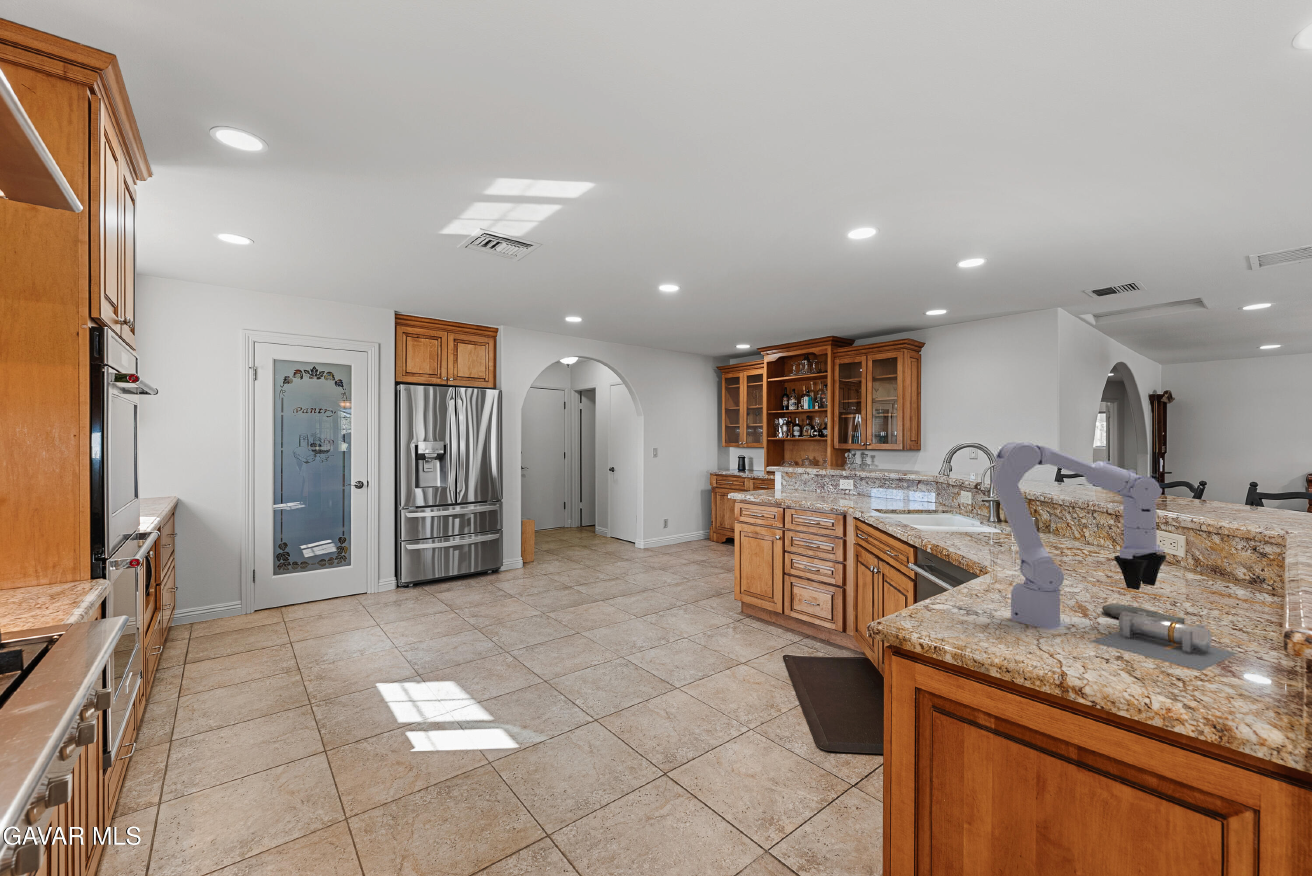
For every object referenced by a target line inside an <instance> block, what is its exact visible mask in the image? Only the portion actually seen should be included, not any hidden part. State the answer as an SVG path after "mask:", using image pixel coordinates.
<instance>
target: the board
mask: <svg viewBox="0 0 1312 876" xmlns="http://www.w3.org/2000/svg"><path fill="white" fill-rule="evenodd" d="M1089 642H1091V643H1093V644H1098V645H1101V646H1105V647H1108V648H1109V647H1110V648H1114V649H1115V650H1116V649H1117V650H1120V651H1125V652H1128V653H1132V654H1136V655H1139V656H1143V657H1147V658H1151V659H1154V660H1159V661H1162V662H1166V663H1169V664H1173V665H1177V666H1181V667H1183V668H1184V667H1185V668H1189V669H1193V670H1196V671H1200V672H1202V671H1204V670H1207V669H1208V668H1211V667H1212V666H1214V665H1216V664H1219V663H1221V662H1224V661H1225V660H1227V659H1229V658H1231V657H1233V656H1235V655H1237V654H1238V652H1235V651H1232V650H1231V651H1230V650H1226V649H1222V648H1218V647H1212V646H1211V647H1210V649H1209V651H1203V650H1199V651H1197V652H1194V653H1192V654H1188V653H1184V652H1183V646H1182V645H1178V644H1174V643H1170V642H1165V641H1161V640H1157V639H1153V638H1149V637H1145V636H1137V637H1135V638H1132V639H1127V638H1123V631H1121V630H1120V631H1119V630H1117V631H1116V632H1113V633H1111V634H1110V633H1109V634H1108V635H1104V636H1101V637H1098V638H1095V639H1093V640H1089Z"/></svg>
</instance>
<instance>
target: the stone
mask: <svg viewBox="0 0 1312 876" xmlns="http://www.w3.org/2000/svg"><path fill="white" fill-rule="evenodd" d="M1101 609H1102V611H1103V612H1104V613H1106V614H1108V615H1110V616H1112V617H1114V618H1116V619H1119V616H1120V614H1121V613H1122V612H1123V611H1124V612H1129V613H1134V614H1137V612H1143V613H1146V616H1148V617H1153V618H1157V619H1162V620H1167V621H1172V622H1176V623H1181V624H1185V621H1186V620H1185V618H1184V617H1181V616H1177V615H1176V616H1175V615H1170V614H1165V613H1162V612H1157V611H1153V610H1149V609H1146V608H1142V607H1137V606H1132V605H1129V604H1123V603H1109V604H1105V605H1103V606H1102V607H1101Z"/></svg>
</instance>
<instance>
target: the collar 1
mask: <svg viewBox="0 0 1312 876" xmlns="http://www.w3.org/2000/svg"><path fill="white" fill-rule="evenodd" d="M1137 614H1139V615H1143V616H1146V613H1143V612H1137ZM1137 636H1140V635H1136V634H1132V618H1131V617H1126V616H1124V617H1123V638H1127V639H1132V638H1135V637H1137Z"/></svg>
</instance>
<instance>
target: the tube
mask: <svg viewBox="0 0 1312 876" xmlns="http://www.w3.org/2000/svg"><path fill="white" fill-rule="evenodd" d="M1124 616H1126V617H1131V618H1132V634H1136V635H1140V636H1145V637H1149V638H1153V639H1157V640H1161V641H1165V642H1170V643H1174V644H1178V645H1182V630H1184V629H1186V630H1191V631H1192V634H1193V648H1195V649H1199V650H1203V651H1209V649H1210V647H1212V643H1213V642H1212V641H1213V640H1212V639H1213V638H1212V637H1213V636H1212V633H1211V630H1210V629H1208V628H1206V629H1205V628H1200V627H1196V625H1195V626H1194V625H1190V624H1186V623H1184V624H1181V623H1176V622H1172V621H1167V620H1162V619H1157V618H1153V617H1148V616H1143V615H1139V614H1134V613H1129V612H1124V611H1123V612H1122V613H1121V614H1120V616H1119V618H1118V627H1119V630H1120V631H1123V617H1124ZM1182 646H1183V645H1182Z"/></svg>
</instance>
